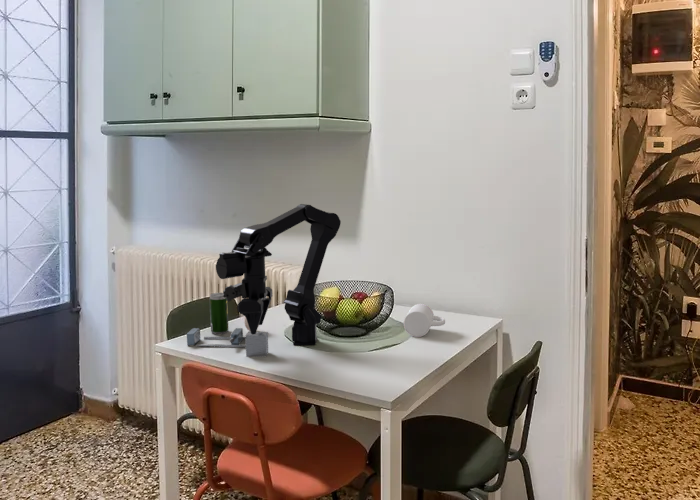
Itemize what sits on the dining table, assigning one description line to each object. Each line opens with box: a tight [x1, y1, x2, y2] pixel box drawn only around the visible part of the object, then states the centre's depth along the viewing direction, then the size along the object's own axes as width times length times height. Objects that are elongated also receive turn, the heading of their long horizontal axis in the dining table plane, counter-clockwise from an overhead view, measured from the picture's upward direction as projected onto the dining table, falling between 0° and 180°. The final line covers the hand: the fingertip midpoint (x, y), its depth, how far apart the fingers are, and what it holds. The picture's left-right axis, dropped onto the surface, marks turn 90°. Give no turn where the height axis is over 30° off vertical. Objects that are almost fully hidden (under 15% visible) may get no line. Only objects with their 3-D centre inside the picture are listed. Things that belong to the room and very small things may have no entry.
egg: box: [243, 316, 260, 332], centre depth 202 cm, size 5×5×7 cm
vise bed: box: [186, 327, 246, 348], centre depth 190 cm, size 18×8×4 cm, turn 87°
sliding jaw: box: [229, 327, 244, 345], centre depth 188 cm, size 2×10×3 cm, turn 177°
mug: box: [403, 303, 446, 338], centre depth 198 cm, size 12×10×8 cm
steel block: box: [244, 331, 269, 357], centre depth 179 cm, size 4×6×6 cm, turn 87°
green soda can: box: [209, 292, 229, 335], centre depth 201 cm, size 5×5×12 cm
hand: (256, 329), depth 179 cm, fingers open, 9 cm apart
